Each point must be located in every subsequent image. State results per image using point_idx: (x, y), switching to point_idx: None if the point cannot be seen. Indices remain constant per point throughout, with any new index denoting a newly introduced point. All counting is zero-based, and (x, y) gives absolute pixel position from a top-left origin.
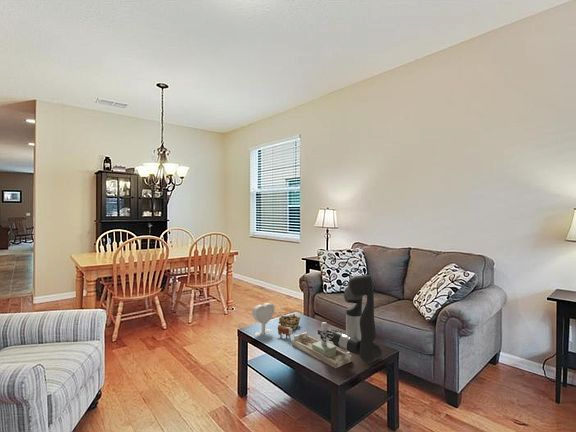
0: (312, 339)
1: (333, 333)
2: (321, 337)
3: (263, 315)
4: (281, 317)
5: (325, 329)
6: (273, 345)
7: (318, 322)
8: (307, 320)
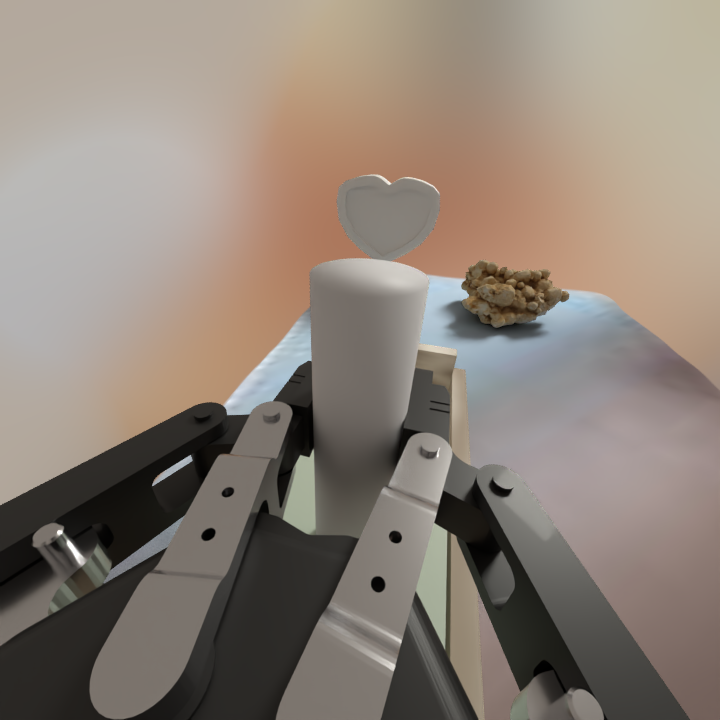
0: (450, 410)
1: (320, 634)
2: (195, 469)
3: (379, 224)
4: (476, 266)
5: (332, 396)
6: (301, 337)
7: (668, 355)
8: (616, 327)
